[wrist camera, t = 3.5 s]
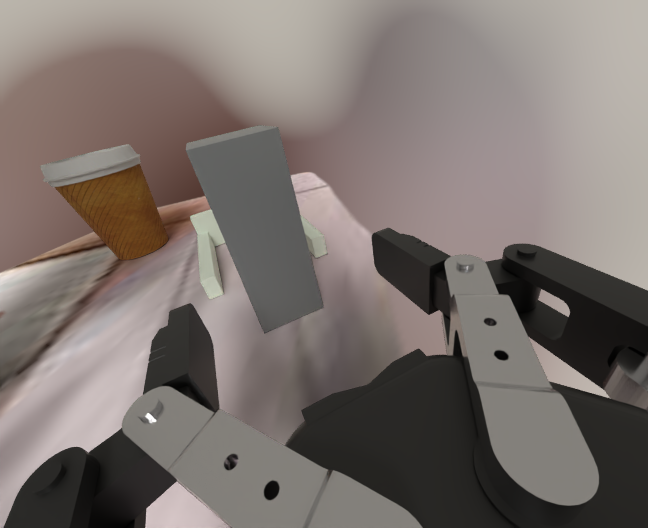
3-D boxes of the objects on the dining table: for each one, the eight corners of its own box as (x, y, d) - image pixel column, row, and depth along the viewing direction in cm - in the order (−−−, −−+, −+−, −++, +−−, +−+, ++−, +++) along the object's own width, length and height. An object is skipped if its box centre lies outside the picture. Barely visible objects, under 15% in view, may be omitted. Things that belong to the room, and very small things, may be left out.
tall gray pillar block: (323, 307, 20) (278, 126, 14) (264, 333, 19) (185, 150, 13) (302, 277, 24) (259, 125, 18) (252, 297, 23) (186, 143, 17)
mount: (327, 253, 26) (319, 215, 24) (209, 299, 24) (189, 260, 22) (290, 217, 36) (281, 187, 34) (203, 246, 34) (189, 216, 31)
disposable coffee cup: (164, 227, 43) (120, 145, 37) (192, 237, 37) (145, 141, 31) (96, 257, 37) (29, 167, 31) (116, 275, 31) (39, 168, 25)
